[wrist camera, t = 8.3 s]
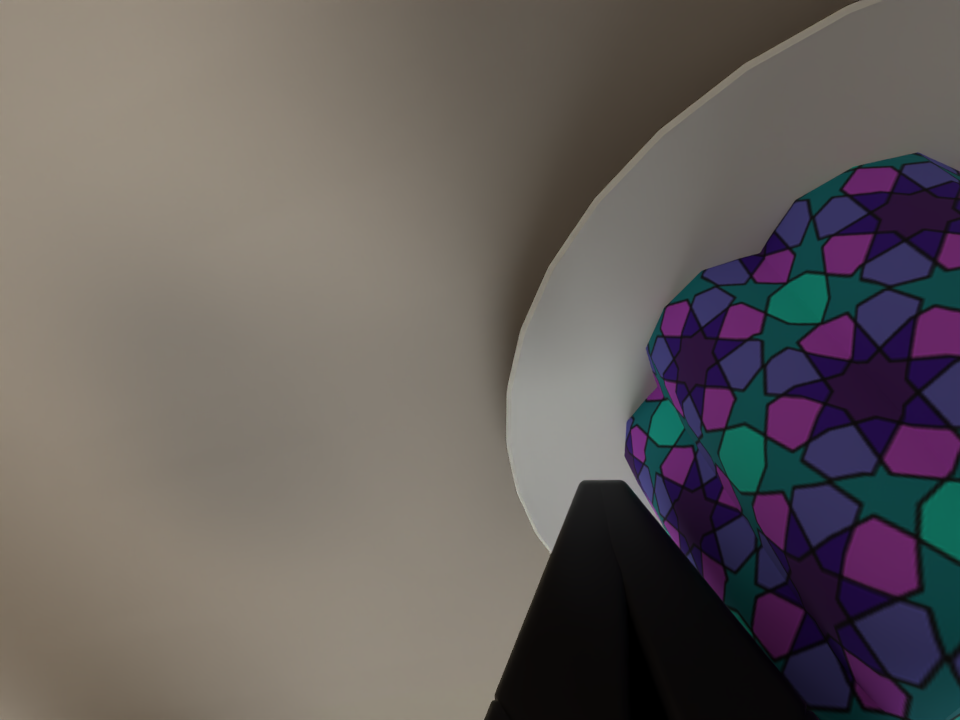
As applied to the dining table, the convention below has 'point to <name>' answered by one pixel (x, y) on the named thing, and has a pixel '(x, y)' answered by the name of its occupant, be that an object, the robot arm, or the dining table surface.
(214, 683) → the dining table surface
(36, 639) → the dining table surface
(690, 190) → the pudding
